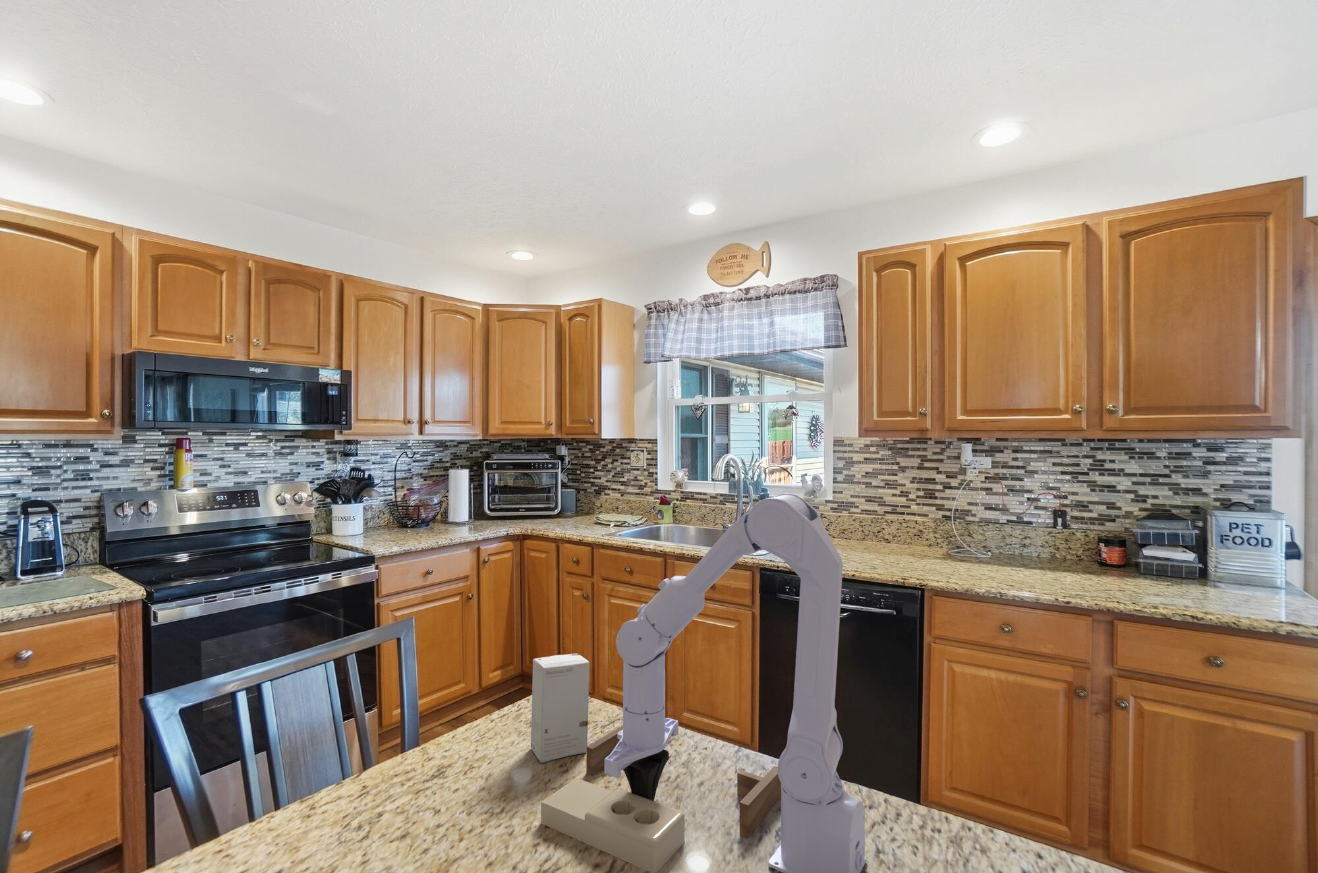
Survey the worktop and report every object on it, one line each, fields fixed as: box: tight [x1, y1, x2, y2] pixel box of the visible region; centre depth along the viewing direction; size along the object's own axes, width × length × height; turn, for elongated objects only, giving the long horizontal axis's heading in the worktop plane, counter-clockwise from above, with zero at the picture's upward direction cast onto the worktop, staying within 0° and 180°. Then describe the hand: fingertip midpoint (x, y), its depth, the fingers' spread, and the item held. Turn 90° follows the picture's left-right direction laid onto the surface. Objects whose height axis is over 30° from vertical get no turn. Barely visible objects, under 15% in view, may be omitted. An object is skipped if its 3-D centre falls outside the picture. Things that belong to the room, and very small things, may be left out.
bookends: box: [585, 724, 781, 838], centre depth 91 cm, size 27×11×4 cm, turn 56°
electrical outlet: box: [540, 777, 686, 873], centre depth 80 cm, size 7×4×18 cm
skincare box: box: [530, 653, 590, 764], centre depth 101 cm, size 8×6×15 cm
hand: (643, 807), depth 83 cm, fingers closed
